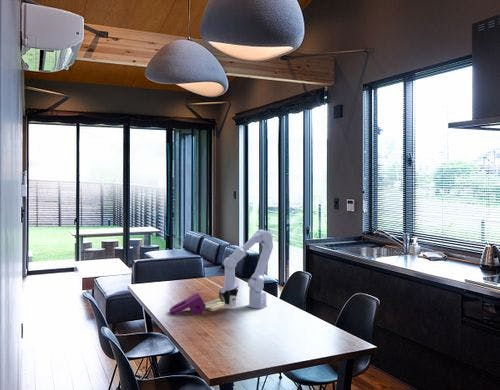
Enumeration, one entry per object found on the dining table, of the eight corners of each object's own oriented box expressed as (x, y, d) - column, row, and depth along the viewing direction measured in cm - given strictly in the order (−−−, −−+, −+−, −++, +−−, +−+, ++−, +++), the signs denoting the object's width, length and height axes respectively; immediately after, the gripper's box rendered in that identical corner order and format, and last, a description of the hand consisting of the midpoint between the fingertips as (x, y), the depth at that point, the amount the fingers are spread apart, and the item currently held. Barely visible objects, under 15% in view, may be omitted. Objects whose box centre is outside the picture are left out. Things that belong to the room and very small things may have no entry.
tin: (221, 303, 272) (221, 289, 272) (217, 302, 274) (217, 288, 274) (237, 298, 284) (237, 284, 284) (233, 297, 286) (233, 284, 286)
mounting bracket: (177, 326, 246) (207, 310, 250) (170, 313, 245) (200, 296, 249) (175, 321, 255) (204, 305, 259) (168, 308, 254) (198, 292, 258)
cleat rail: (227, 305, 267) (227, 300, 267) (212, 311, 255) (212, 305, 255) (218, 303, 270) (218, 298, 270) (203, 309, 258) (203, 303, 258)
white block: (236, 305, 260) (236, 296, 260) (232, 307, 256) (232, 297, 256) (228, 304, 263) (228, 294, 263) (223, 306, 259) (223, 296, 259)
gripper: (231, 276, 267) (231, 299, 268) (216, 280, 255) (216, 304, 256) (241, 277, 264) (241, 301, 264) (226, 282, 252) (226, 306, 252)
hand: (229, 303), depth 260 cm, fingers closed on white block, 4 cm apart
